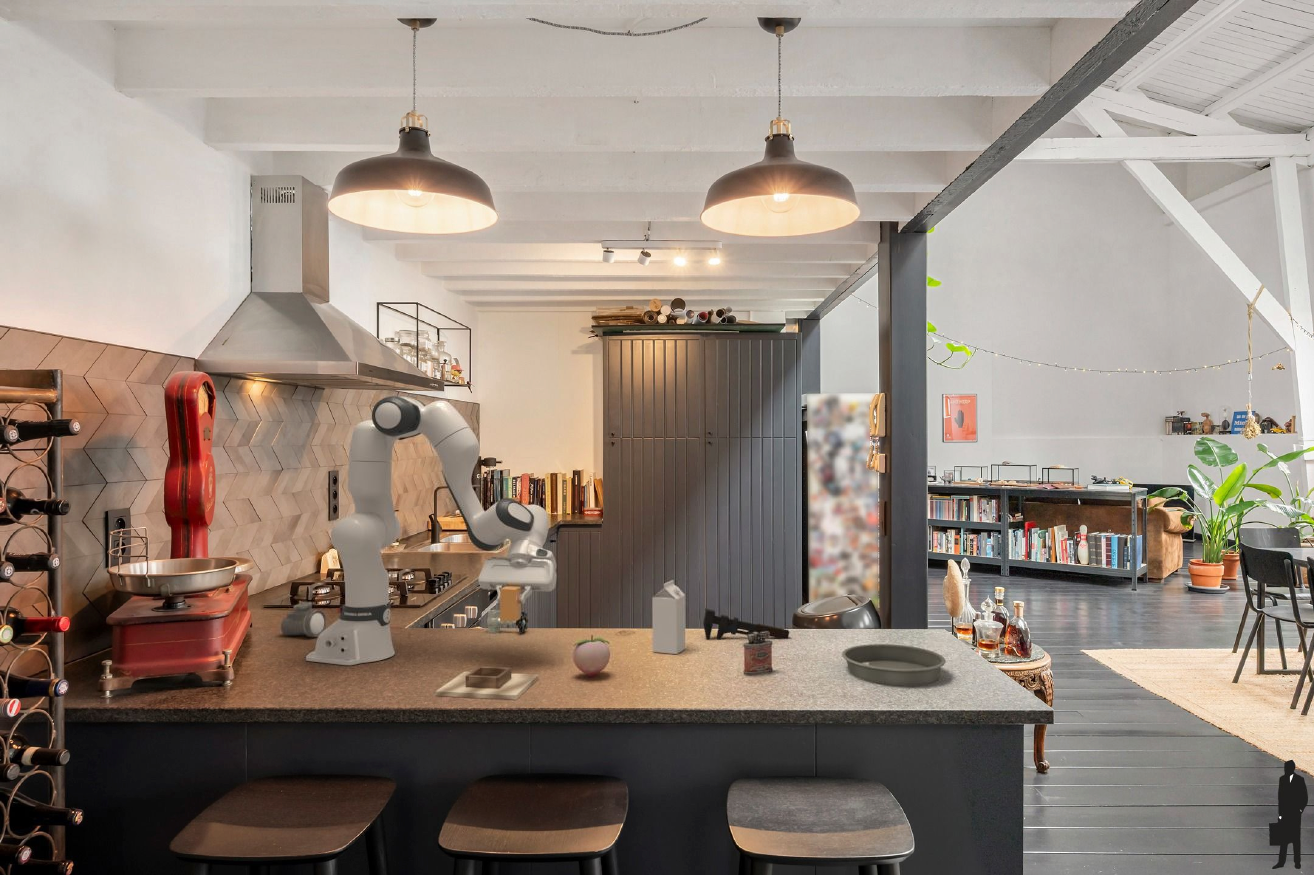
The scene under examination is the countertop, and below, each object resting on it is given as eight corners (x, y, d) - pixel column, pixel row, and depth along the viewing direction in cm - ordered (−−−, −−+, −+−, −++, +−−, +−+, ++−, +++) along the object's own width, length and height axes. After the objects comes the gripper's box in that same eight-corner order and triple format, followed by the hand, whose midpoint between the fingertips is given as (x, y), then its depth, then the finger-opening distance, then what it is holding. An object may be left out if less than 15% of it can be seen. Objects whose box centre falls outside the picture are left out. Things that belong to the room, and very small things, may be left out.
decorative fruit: (583, 683, 181) (582, 641, 182) (568, 675, 188) (568, 634, 189) (617, 677, 186) (617, 636, 187) (601, 669, 193) (601, 629, 194)
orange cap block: (500, 620, 192) (500, 589, 193) (505, 617, 196) (506, 586, 197) (515, 621, 192) (515, 589, 192) (520, 618, 196) (520, 586, 196)
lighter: (748, 676, 186) (748, 635, 187) (740, 673, 189) (740, 632, 190) (775, 672, 190) (775, 631, 190) (767, 668, 193) (767, 629, 193)
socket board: (435, 695, 173) (435, 680, 173) (464, 675, 188) (464, 661, 189) (516, 699, 170) (516, 683, 170) (538, 678, 185) (538, 664, 185)
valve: (483, 634, 232) (521, 636, 230) (483, 612, 232) (521, 614, 230) (491, 629, 238) (528, 631, 236) (491, 608, 238) (528, 609, 236)
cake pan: (914, 658, 204) (913, 641, 204) (966, 685, 179) (966, 666, 180) (826, 662, 200) (826, 645, 200) (868, 691, 175) (868, 671, 175)
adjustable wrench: (784, 656, 224) (700, 638, 224) (783, 653, 227) (700, 636, 226) (790, 627, 224) (706, 610, 224) (788, 625, 227) (706, 608, 227)
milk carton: (652, 652, 210) (652, 583, 210) (661, 646, 216) (661, 579, 217) (676, 655, 207) (676, 584, 207) (685, 648, 214) (685, 580, 214)
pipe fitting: (330, 632, 233) (325, 599, 233) (312, 640, 225) (307, 606, 225) (297, 634, 236) (292, 602, 236) (278, 643, 228) (273, 609, 228)
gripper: (483, 550, 203) (468, 593, 194) (557, 552, 200) (546, 596, 190) (489, 564, 208) (475, 607, 198) (562, 566, 204) (551, 610, 195)
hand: (510, 602), depth 194 cm, fingers closed on orange cap block, 4 cm apart
